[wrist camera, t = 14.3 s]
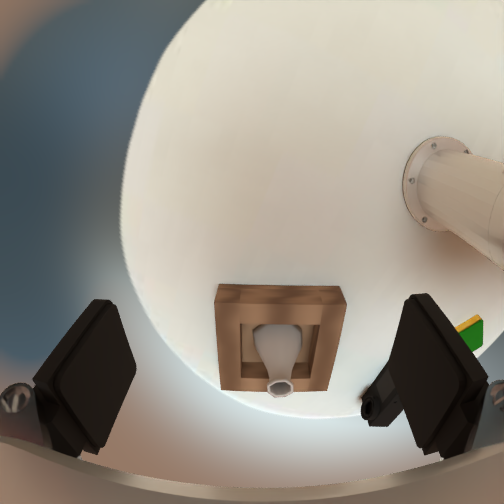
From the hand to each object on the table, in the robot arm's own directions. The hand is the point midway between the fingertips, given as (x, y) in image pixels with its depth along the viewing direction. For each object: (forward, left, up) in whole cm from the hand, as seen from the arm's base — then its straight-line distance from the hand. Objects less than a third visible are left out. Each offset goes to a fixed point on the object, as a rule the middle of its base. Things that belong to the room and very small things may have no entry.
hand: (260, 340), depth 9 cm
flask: (-3, +22, -27) cm, 35 cm away
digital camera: (-22, +34, -28) cm, 49 cm away
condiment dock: (-3, +22, -28) cm, 35 cm away
